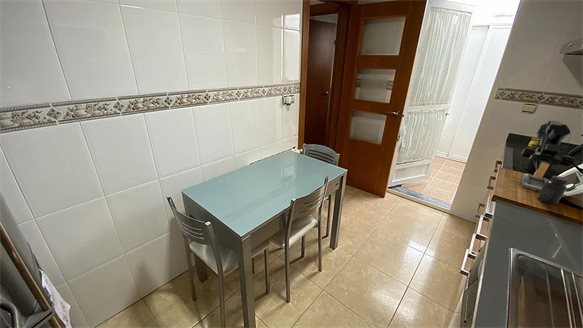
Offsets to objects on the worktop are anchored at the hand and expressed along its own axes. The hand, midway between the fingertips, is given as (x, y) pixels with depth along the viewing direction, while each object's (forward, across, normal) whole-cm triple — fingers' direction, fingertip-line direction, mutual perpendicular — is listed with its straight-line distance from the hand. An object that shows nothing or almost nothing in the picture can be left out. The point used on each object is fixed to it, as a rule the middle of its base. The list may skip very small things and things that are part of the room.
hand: (541, 170), depth 120 cm
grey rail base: (+7, 0, +3) cm, 8 cm away
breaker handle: (+3, 0, +5) cm, 6 cm away
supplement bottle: (+19, +4, -8) cm, 21 cm away
